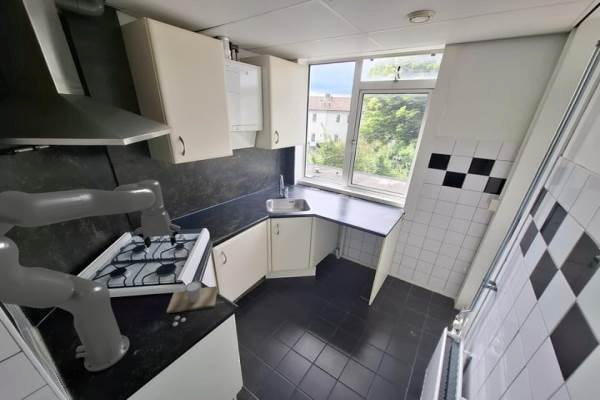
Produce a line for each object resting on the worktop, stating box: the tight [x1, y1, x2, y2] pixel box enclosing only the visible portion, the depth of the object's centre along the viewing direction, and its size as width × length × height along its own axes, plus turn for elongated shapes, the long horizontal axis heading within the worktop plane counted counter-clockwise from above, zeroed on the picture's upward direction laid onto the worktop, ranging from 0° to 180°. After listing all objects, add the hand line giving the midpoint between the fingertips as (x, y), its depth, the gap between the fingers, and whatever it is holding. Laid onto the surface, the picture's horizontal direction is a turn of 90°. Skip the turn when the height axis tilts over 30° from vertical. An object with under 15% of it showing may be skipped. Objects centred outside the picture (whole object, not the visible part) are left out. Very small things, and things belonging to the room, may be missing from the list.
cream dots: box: [172, 315, 187, 327], centre depth 95 cm, size 5×5×1 cm
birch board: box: [166, 285, 219, 314], centre depth 105 cm, size 20×12×1 cm, turn 103°
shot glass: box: [184, 280, 202, 303], centre depth 104 cm, size 7×7×7 cm
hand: (161, 245), depth 97 cm, fingers open, 9 cm apart
